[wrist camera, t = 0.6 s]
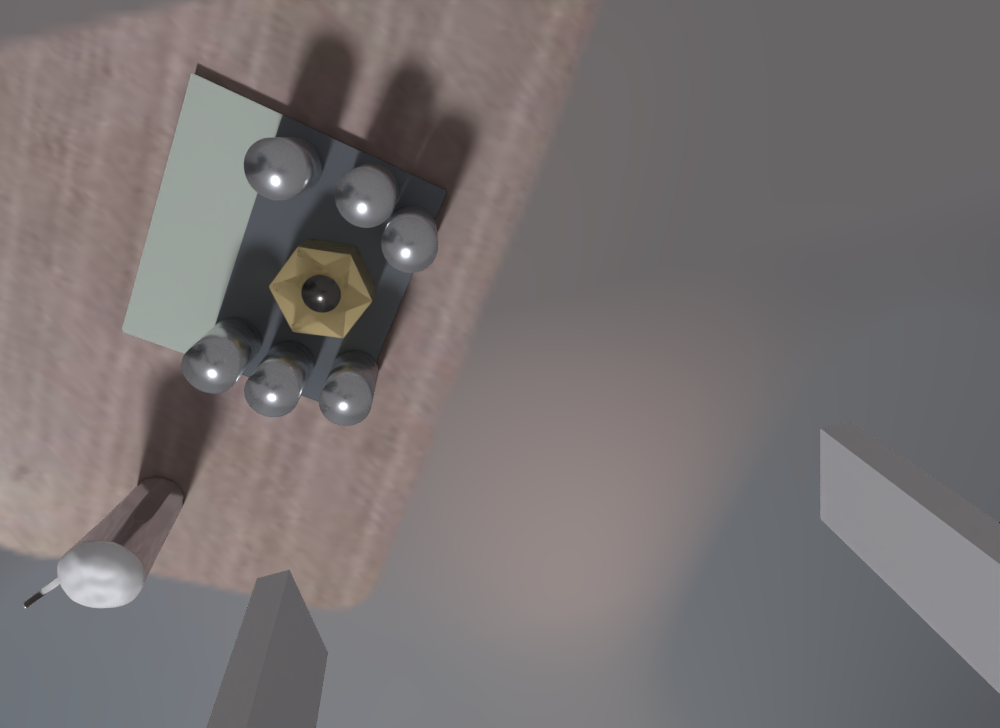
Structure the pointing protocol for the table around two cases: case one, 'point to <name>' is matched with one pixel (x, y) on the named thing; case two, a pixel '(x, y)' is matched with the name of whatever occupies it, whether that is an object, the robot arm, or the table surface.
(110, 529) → the milkshake
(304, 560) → the table surface
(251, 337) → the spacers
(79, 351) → the table surface
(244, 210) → the mat
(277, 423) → the table surface
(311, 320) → the nut
